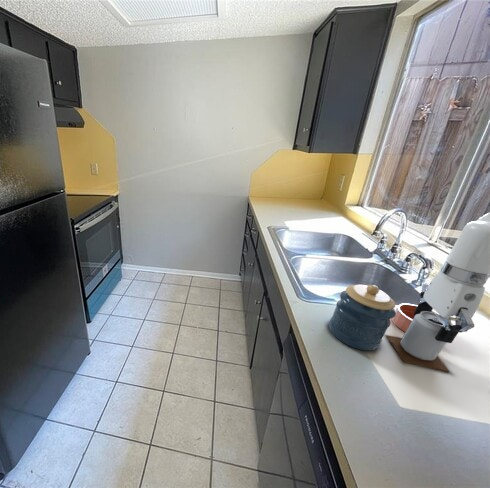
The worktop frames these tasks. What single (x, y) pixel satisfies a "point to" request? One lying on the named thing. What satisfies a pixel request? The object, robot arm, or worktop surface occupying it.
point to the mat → (413, 360)
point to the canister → (362, 316)
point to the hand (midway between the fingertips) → (430, 328)
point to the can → (424, 336)
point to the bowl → (404, 316)
